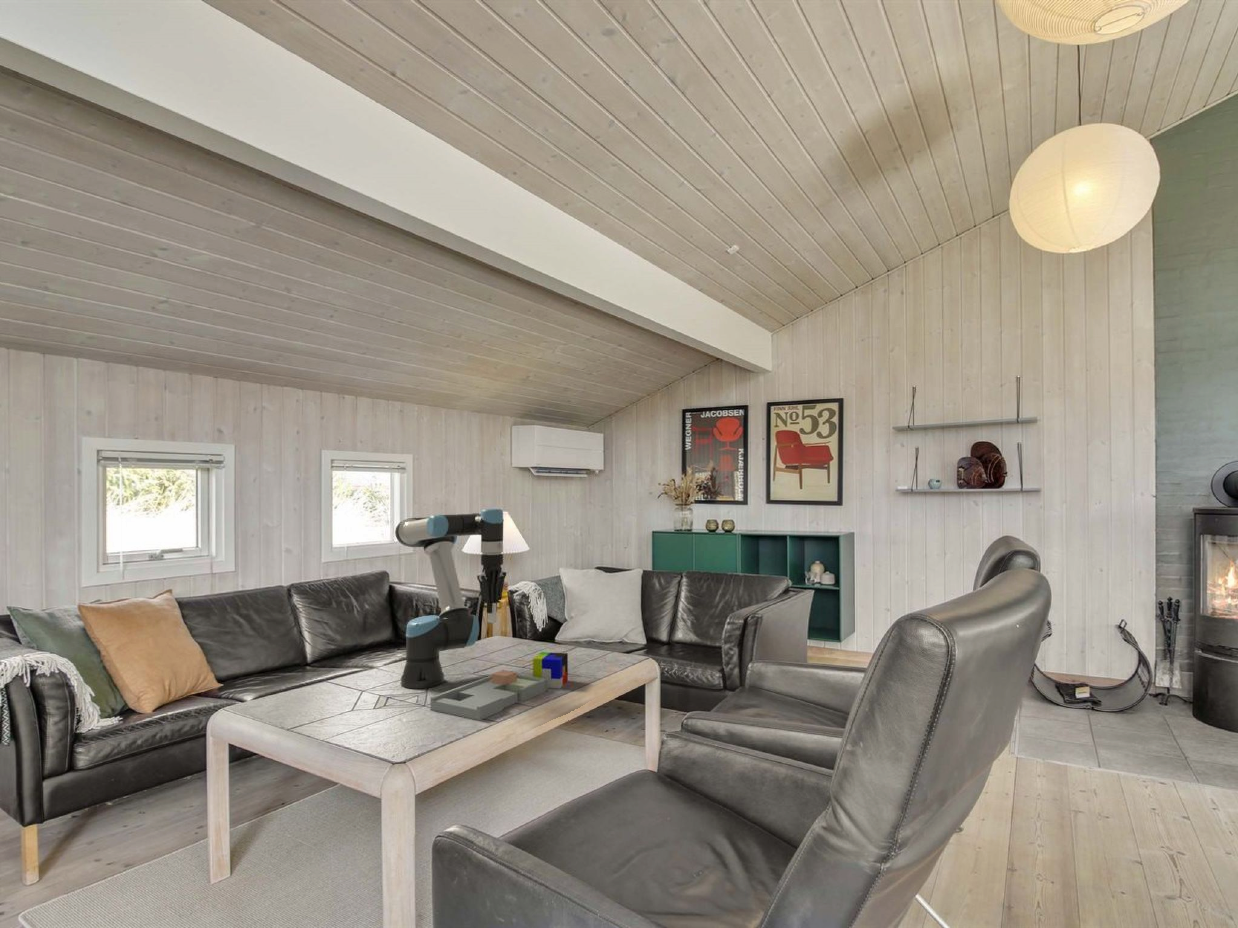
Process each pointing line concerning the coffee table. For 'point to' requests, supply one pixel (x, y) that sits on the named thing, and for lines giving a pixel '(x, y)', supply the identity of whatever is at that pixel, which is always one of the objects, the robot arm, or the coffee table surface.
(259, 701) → the coffee table surface
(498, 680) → the block
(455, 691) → the trap box
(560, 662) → the puzzle toy
